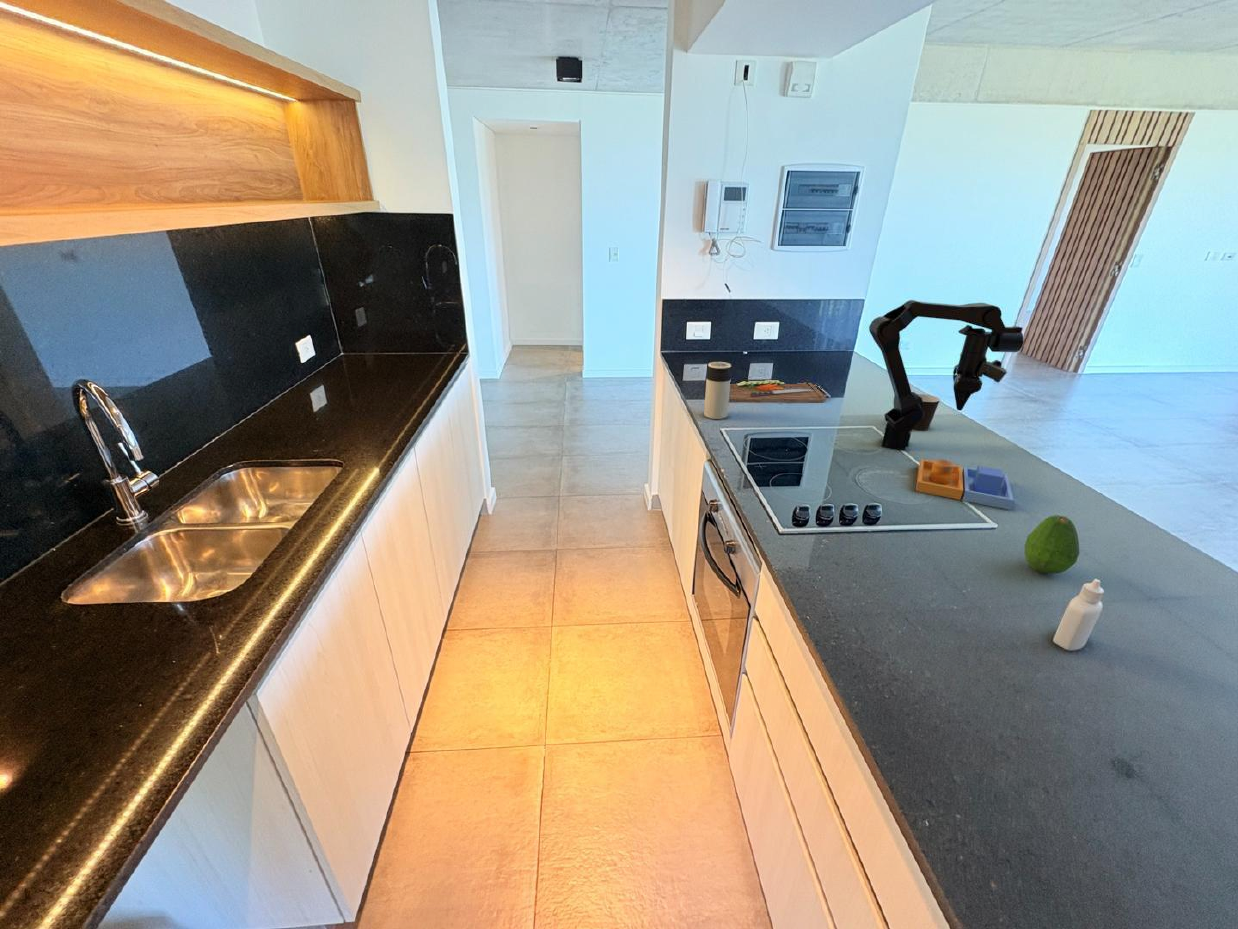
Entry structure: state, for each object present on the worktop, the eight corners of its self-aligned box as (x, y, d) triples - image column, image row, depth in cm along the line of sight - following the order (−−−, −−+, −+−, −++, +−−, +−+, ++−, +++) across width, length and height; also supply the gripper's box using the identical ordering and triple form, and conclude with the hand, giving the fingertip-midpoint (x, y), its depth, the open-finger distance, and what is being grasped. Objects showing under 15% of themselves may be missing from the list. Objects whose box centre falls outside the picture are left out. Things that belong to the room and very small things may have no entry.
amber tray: (915, 490, 131) (918, 481, 130) (918, 467, 144) (920, 459, 143) (960, 500, 127) (963, 490, 126) (959, 475, 139) (962, 466, 138)
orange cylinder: (928, 482, 134) (933, 464, 132) (929, 475, 138) (933, 457, 136) (949, 486, 132) (954, 468, 130) (949, 479, 136) (954, 461, 134)
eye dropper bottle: (1041, 631, 86) (1067, 571, 81) (1076, 632, 86) (1104, 572, 81) (1060, 651, 82) (1089, 589, 77) (1097, 652, 82) (1128, 590, 77)
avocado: (1008, 564, 103) (1028, 511, 98) (1033, 555, 106) (1054, 503, 101) (1052, 588, 97) (1076, 532, 91) (1078, 577, 99) (1102, 522, 94)
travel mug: (717, 421, 177) (721, 368, 170) (699, 415, 183) (702, 364, 175) (732, 416, 182) (736, 364, 174) (714, 410, 187) (718, 360, 180)
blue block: (973, 491, 130) (979, 473, 128) (972, 483, 134) (978, 465, 132) (997, 496, 128) (1003, 477, 126) (996, 487, 132) (1002, 469, 129)
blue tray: (962, 500, 127) (965, 490, 126) (961, 475, 139) (963, 466, 138) (1010, 510, 123) (1013, 500, 121) (1004, 483, 135) (1007, 474, 134)
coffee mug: (936, 432, 167) (944, 402, 163) (906, 430, 169) (913, 401, 165) (924, 420, 178) (931, 391, 173) (896, 418, 179) (903, 390, 175)
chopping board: (813, 382, 219) (814, 375, 218) (835, 402, 195) (836, 394, 194) (704, 381, 221) (705, 374, 219) (713, 401, 196) (713, 393, 195)
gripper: (1013, 362, 134) (994, 420, 140) (1006, 348, 148) (990, 401, 155) (961, 356, 139) (946, 413, 145) (960, 343, 153) (946, 395, 160)
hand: (958, 405), depth 151 cm, fingers open, 9 cm apart
